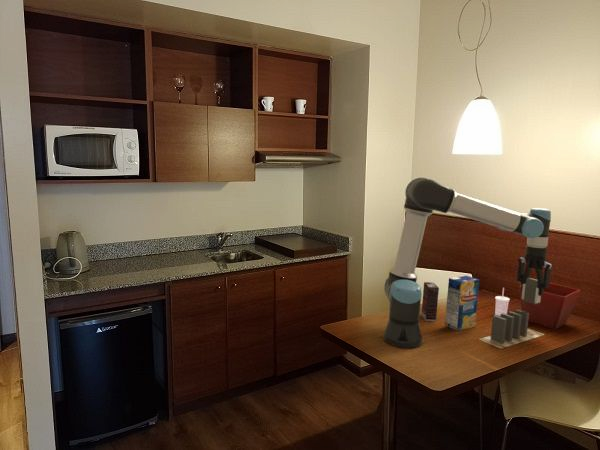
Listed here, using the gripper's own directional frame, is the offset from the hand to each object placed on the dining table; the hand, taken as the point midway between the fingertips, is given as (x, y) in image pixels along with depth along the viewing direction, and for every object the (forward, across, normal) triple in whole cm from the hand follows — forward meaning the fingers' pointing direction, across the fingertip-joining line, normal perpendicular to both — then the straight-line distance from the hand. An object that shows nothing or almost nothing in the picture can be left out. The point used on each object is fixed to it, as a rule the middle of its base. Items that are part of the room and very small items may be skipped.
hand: (530, 300), depth 183 cm
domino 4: (+14, 0, +5) cm, 15 cm away
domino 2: (+14, 0, +15) cm, 21 cm away
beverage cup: (+15, +19, -10) cm, 26 cm away
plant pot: (+15, +4, -21) cm, 26 cm away
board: (+15, 0, +10) cm, 18 cm away
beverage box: (+15, +18, +20) cm, 31 cm away
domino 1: (+14, 0, +20) cm, 24 cm away
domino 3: (+14, 0, +10) cm, 17 cm away
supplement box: (+15, +33, +23) cm, 43 cm away
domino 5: (+1, 0, 0) cm, 1 cm away
